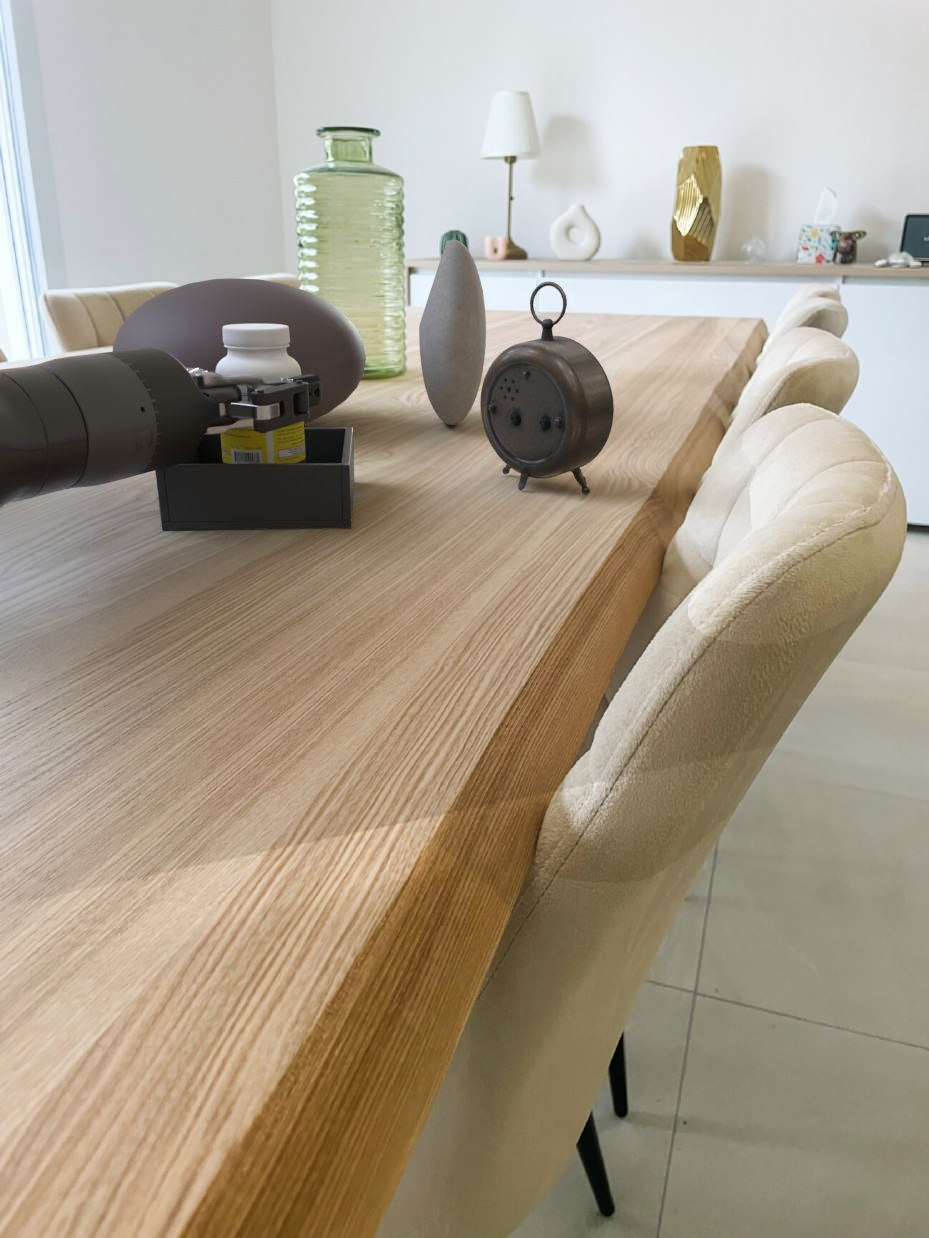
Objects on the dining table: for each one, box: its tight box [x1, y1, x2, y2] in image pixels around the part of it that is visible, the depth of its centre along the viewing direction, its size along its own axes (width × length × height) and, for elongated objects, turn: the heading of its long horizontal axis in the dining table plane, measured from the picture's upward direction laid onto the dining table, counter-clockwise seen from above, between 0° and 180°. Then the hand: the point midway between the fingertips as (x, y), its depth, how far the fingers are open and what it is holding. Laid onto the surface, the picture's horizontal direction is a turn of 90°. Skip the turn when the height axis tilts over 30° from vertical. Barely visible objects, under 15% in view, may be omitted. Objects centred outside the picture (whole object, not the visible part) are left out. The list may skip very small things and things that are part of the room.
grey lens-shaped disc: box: [418, 239, 487, 426], centre depth 99 cm, size 18×7×19 cm, turn 1°
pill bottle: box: [215, 324, 306, 464], centre depth 68 cm, size 6×6×11 cm
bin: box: [154, 426, 355, 531], centre depth 71 cm, size 13×13×5 cm
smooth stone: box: [112, 277, 367, 425], centre depth 94 cm, size 25×25×15 cm
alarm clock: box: [479, 281, 615, 495], centre depth 75 cm, size 11×5×16 cm, turn 48°
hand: (279, 385), depth 70 cm, fingers closed on pill bottle, 6 cm apart
